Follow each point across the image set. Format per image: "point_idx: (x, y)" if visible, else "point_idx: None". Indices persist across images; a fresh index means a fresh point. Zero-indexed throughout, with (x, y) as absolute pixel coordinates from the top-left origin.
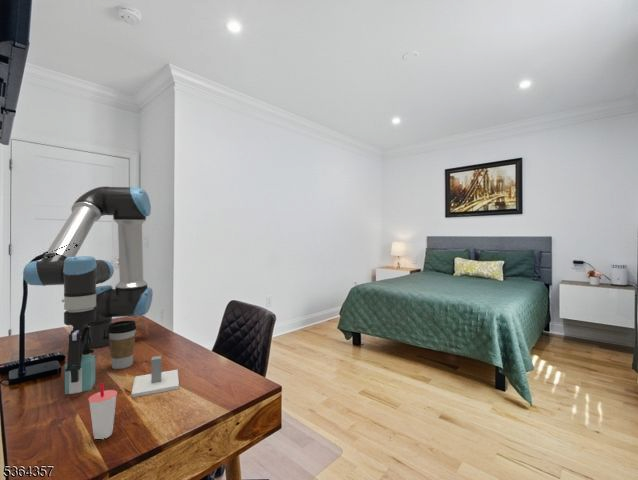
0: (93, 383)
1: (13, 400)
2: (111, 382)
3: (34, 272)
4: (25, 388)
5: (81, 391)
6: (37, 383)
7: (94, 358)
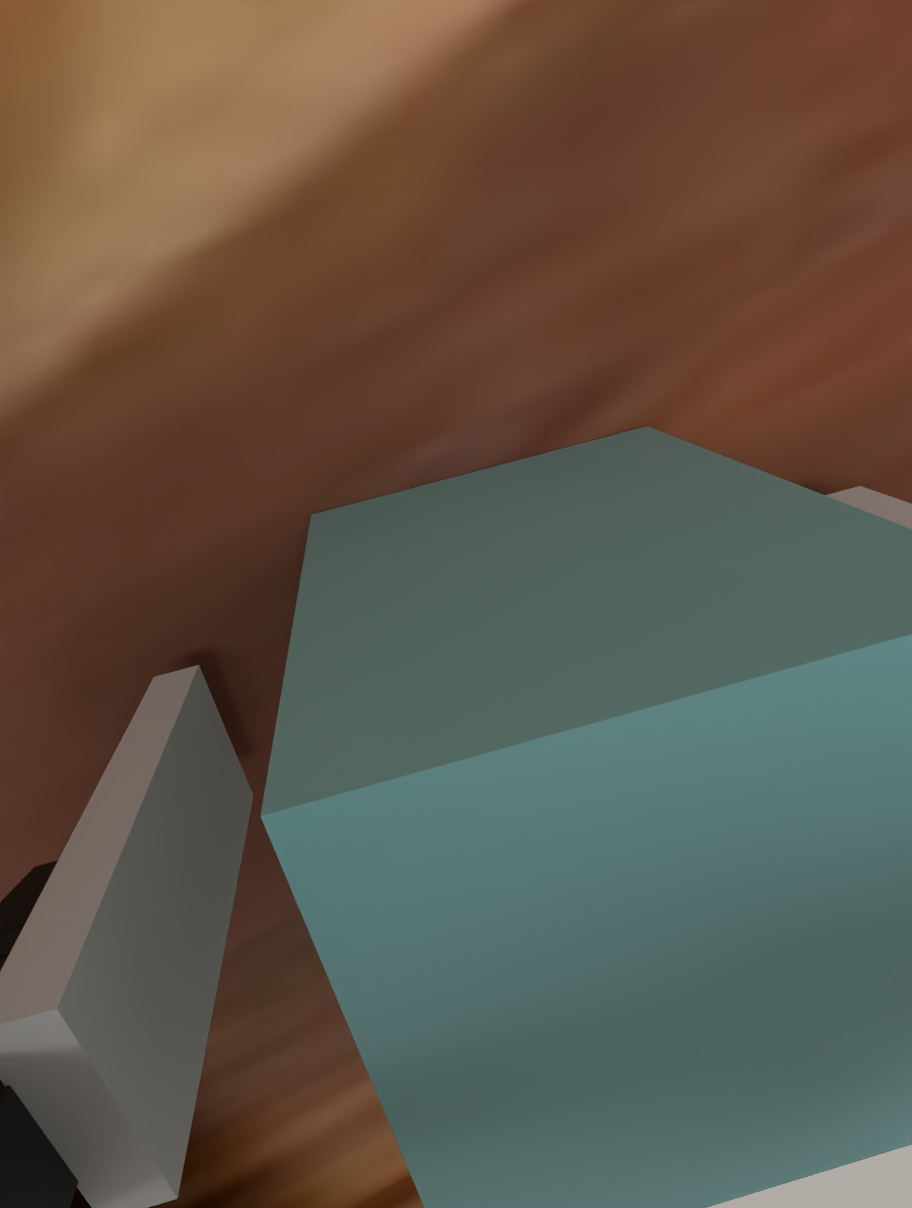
0: (465, 479)
1: None
2: (411, 172)
3: None
4: (392, 1177)
5: (855, 488)
6: (274, 1157)
7: (392, 719)
